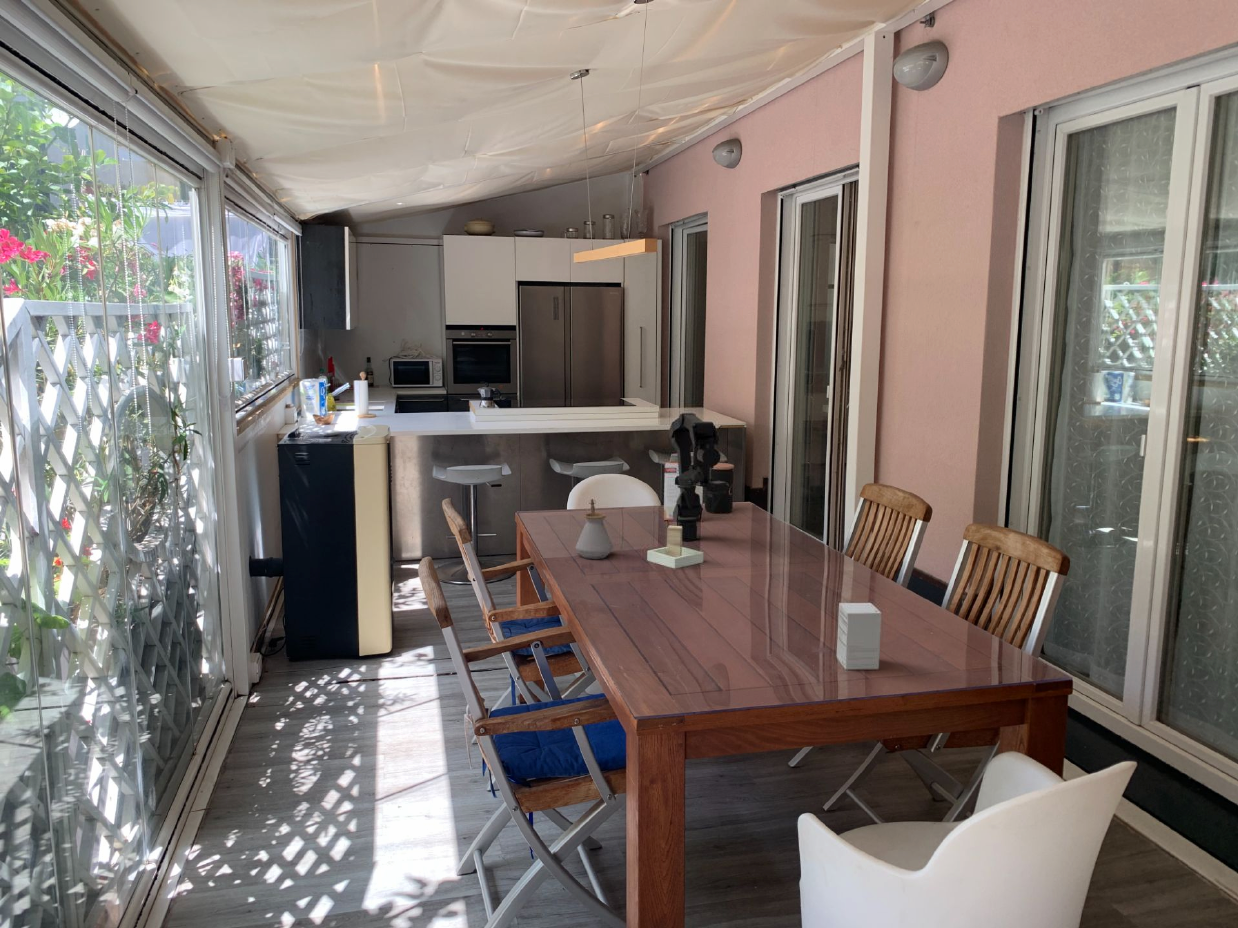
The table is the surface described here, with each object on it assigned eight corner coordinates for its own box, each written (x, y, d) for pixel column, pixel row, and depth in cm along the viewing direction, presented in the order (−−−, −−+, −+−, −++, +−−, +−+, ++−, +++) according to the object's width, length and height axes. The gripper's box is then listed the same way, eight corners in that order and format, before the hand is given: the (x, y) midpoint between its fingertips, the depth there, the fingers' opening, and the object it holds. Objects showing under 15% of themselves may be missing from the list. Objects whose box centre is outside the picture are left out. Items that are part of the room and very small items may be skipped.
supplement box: (868, 657, 206) (872, 602, 205) (879, 670, 199) (882, 612, 197) (835, 657, 206) (838, 601, 204) (844, 670, 199) (847, 612, 197)
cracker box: (702, 518, 346) (703, 462, 343) (702, 522, 341) (703, 465, 337) (664, 517, 348) (665, 461, 345) (663, 520, 342) (664, 464, 339)
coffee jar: (733, 514, 355) (735, 467, 352) (705, 513, 355) (706, 466, 353) (731, 508, 366) (732, 463, 363) (703, 508, 366) (704, 462, 363)
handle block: (668, 557, 287) (669, 525, 286) (681, 558, 287) (682, 526, 285) (666, 560, 283) (667, 528, 282) (679, 561, 283) (680, 529, 281)
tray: (647, 560, 286) (647, 550, 286) (675, 554, 294) (675, 544, 293) (674, 568, 277) (674, 558, 277) (703, 562, 285) (703, 552, 284)
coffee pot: (614, 560, 285) (614, 512, 283) (576, 560, 284) (576, 512, 282) (609, 543, 306) (609, 498, 304) (574, 543, 305) (574, 498, 303)
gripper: (662, 460, 297) (661, 508, 299) (705, 467, 283) (703, 518, 285) (687, 457, 304) (686, 504, 306) (730, 464, 290) (728, 514, 292)
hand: (700, 510), depth 297 cm, fingers open, 9 cm apart
